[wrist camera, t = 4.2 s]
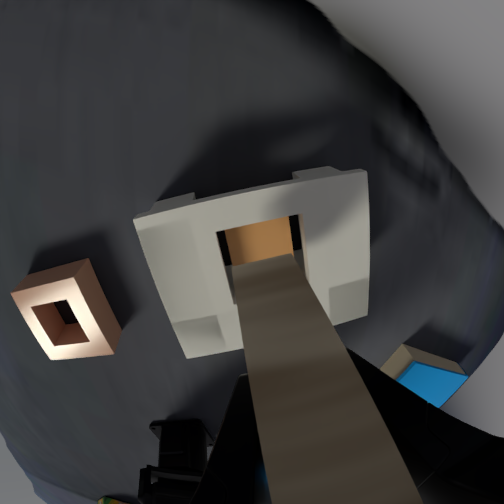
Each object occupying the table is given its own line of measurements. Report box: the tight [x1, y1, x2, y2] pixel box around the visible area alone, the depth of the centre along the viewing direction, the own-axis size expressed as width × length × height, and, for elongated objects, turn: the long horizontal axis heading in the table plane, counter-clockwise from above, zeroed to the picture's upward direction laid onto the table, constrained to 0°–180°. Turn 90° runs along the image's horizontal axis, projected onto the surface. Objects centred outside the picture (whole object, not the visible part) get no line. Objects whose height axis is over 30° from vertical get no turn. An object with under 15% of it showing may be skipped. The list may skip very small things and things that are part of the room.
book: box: [380, 344, 468, 408], centre depth 33 cm, size 17×4×25 cm
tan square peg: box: [231, 253, 423, 504], centre depth 8 cm, size 3×3×12 cm
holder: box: [11, 258, 122, 360], centre depth 20 cm, size 7×7×3 cm
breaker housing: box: [133, 166, 370, 359], centre depth 18 cm, size 9×12×6 cm
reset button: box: [224, 216, 294, 266], centre depth 17 cm, size 4×4×2 cm
